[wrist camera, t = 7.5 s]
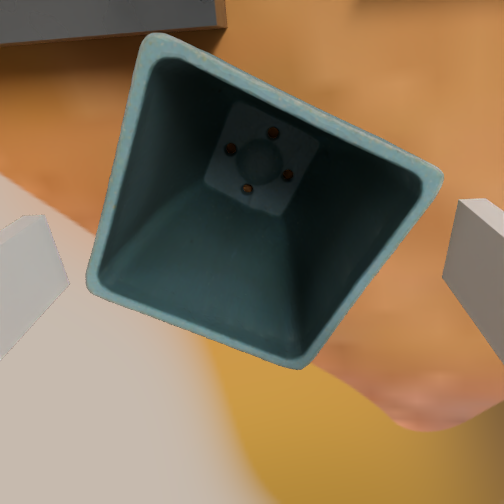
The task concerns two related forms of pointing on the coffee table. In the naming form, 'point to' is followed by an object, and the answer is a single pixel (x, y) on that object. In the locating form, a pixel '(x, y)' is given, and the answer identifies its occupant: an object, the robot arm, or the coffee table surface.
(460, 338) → the coffee table surface
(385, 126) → the coffee table surface
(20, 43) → the breaker panel
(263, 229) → the flower pot
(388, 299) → the coffee table surface
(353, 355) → the coffee table surface
